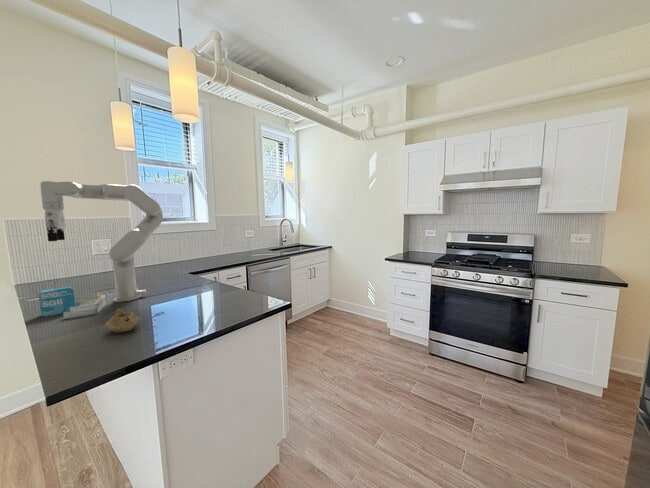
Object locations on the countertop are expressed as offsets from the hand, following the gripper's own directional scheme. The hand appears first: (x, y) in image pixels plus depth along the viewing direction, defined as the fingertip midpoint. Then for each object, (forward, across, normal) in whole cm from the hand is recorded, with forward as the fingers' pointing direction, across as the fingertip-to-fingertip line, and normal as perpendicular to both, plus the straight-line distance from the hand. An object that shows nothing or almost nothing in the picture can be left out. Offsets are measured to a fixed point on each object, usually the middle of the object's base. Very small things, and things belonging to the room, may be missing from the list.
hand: (56, 240), depth 136 cm
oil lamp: (+35, -54, -34) cm, 72 cm away
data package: (+36, -8, 0) cm, 37 cm away
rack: (+35, -12, -12) cm, 39 cm away
